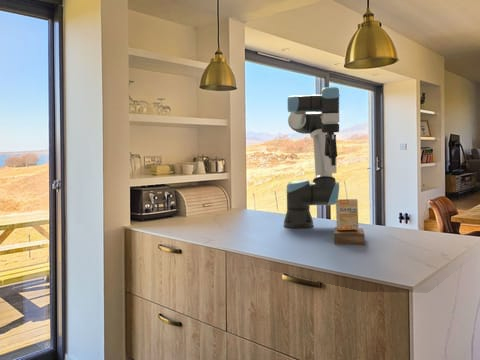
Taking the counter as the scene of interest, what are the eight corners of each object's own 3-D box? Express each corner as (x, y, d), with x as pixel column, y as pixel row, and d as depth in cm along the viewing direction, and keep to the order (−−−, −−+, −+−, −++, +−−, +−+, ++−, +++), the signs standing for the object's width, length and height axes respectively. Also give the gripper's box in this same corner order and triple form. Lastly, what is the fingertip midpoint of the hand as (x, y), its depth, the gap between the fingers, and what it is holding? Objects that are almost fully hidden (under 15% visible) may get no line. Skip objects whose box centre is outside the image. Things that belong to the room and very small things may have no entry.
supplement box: (339, 230, 169) (338, 199, 170) (336, 230, 174) (335, 199, 175) (359, 230, 170) (357, 198, 171) (355, 229, 174) (354, 199, 175)
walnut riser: (335, 238, 180) (334, 227, 179) (363, 239, 177) (363, 228, 176) (334, 245, 168) (334, 233, 168) (364, 246, 165) (364, 234, 165)
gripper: (318, 124, 190) (318, 169, 192) (325, 123, 165) (326, 174, 168) (334, 123, 189) (334, 169, 192) (344, 122, 165) (344, 174, 167)
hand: (330, 171), depth 180 cm, fingers open, 13 cm apart
